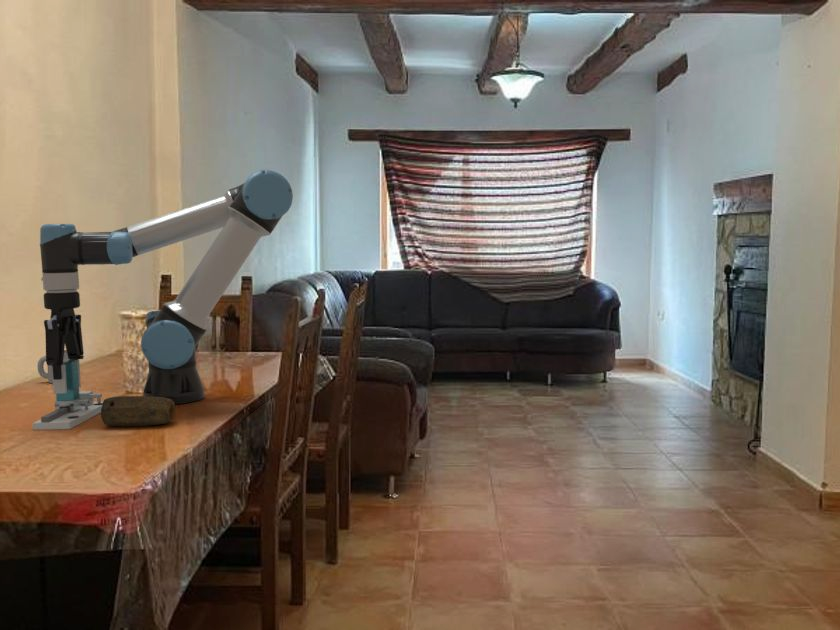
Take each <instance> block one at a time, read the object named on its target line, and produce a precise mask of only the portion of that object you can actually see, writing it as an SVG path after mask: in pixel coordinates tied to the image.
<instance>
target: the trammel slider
mask: <svg viewBox="0 0 840 630" xmlns="http://www.w3.org/2000/svg"><path fill="white" fill-rule="evenodd" d="M63 365H65V367H66V383H67V393H56V394H55V397H56V398H55V399H56V400H55V401H54V409H55V410H57V409H60V408H62V407H64V406H70V411H76V410H78V409H80V408H82V404H85V410H88V403H89V400H81V398H80V397H79V391H80V387H79V381H78V364H77V360H63ZM55 410H54V411H55Z"/></svg>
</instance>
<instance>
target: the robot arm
mask: <svg viewBox="0 0 840 630" xmlns="http://www.w3.org/2000/svg"><path fill="white" fill-rule="evenodd" d="M293 194H294V193H293V189H292V187H291V184H290V183H289V181H288V180H287V178H286V177H285V176H284V175H282V174H281V173H280V172H277V171H274V170H272V169H271V170H270V169H261V170H257V171H255V172H253V173H251V174H250V175H249V176H248V177H247V178H246V180H245V181H244V182H243V183H242V184H240V185H237V186H236V187H232V188H230V189H226V191H225V193H224V195H221V196H219V197H214V198H211V199H208V200H205V201H203V202H199V203H196V204H193V205H190V206H187V207H185V208H181V209H179V210H175V211H173V212H169V213H166V214H163V215H160V216H156V217H153V218H151V219H147V220H144V221H142V222H138V223H135V224H132V225H129V226H126V227H123V228H119V229H117V230H113V231H95V232H94V231H93V232H92V231H91V232H89V231H88V232H83V231H82V232H81V231H78V230H77V229H76V226H75V225H74V224H73V223H46V224H42V225H41V226H40V229H39V230H40V231H39V235H40V236H39V237H40V238H39V239H40V241H39V247H40V248H39V249H40V259H41V268H42V269H41V270H42V271H41V273H42V276H41V279H40V280H41V281H42V287H43V290H44V291H46V292H44V294H43V305H44V306H43V307H44V309H46V310H50V311H51V312H50V319H45V320H43V325H44V326H43V327H44V331H45V356H46V361H45V363H46V366H47V365H52V374H53V385H52V386H53V394H55V395H56V393H67V383H66V367H65V365H63V359H64V350H67V355H68V359H70V360H77V364H78V381H79V388H81V387H82V385H81V384H82V383H81V369H80V360H83V359H84V358H85V356H84V343H83V332H82V324H81V323H82V315H81V314H76V313H75V309H78V308H80V306H81V297H80V292H79V291H77V290H79V289H80V279H79V277H80V276H79V269H78V268H79V265H80V266H87V265H91V266H92V265H102V266H103V265H115V266H118V265H119V266H120V265H125V264H126V265H127V264H130V263H132V261H133V258H135V257H137V256H140V255H143V254H146V253H149V252H152V251H155V250H158V249H162V248H165V247H167V246H170V245H173V244H177V243H179V242H183V241H185V240H186V241H187V240H189V239H192V238H195V237H197V236H201V235H204V234H206V233H209V232H212V231H216V230H219V229H221V231H220V232H219V233H218V235H217V236H216V238H215V239H214V240H213V242H212V243H211V245H210V247H209V249H208V250H207V251H206V252H205V254H204V256H203V257H202V259H201V260H200V262H199V263H198V265H197V266H196V268H195V269H194V271H193V273H191V275H190V277H189V278H188V280H187V281H186V283H185V284H184V286H183V287H182V289H181V290H180V292H179V293H178V295H177V296H176V297H175V298H174V300H172V301H167V302H165V303H163V305H162V307H161V309H160V310H151V311H148V312H147V313H146V316H145V317H146V320H145V325H146V329H145V330H144V332H143V333H142V337H141V341H140V346H141V350H142V354H143V356H144V357H145V359H146V360H147V361H148V373H147V378H146V380H145V384H144V387H143V391H142V396H152V397H164V398H168V399H171V400H173V401H174V404H175V405H181V404H188V403H193V402H197V401H200V400H202V399H204V398H205V396H206V395H205V387H204V385H203V383H202V380H201V377H200V375H199V374H200V373H199V372H198V369H197V359H196V358H197V357H196V356H197V355H196V347H197V346H198V344H199V342H200V341H201V340H202V338H203V336H204V335H205V333H206V332H207V331H208V325H207V319H208V317H209V316H210V314H211V313H212V311H213V310H214V309H215V307H216V305H217V304H218V302H219V301H220V299H221V297H223V295H224V293H225V292H226V290H227V289H228V287H229V286H230V285H231V283H232V281H233V280H234V278H235V277H236V275H237V274H238V273H239V271H240V269H241V268H242V266H243V264H244V263H245V262H246V261H247V258H248V257H249V255H250V254H251V252H252V251H253V249H255V246H256V245H257V244H258V242H259V240H260V239H261V238H262V237H267V236H270V235H271V234H272V232H273V231H274V229H276V226H277V225H278V224H279V222H280V220H281V219H282V218H283V216H284V215H285V214H287V213H288V211H289V210H290V208H291V206H292V204H293V199H294V198H293Z"/></svg>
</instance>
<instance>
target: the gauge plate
mask: <svg viewBox="0 0 840 630" xmlns="http://www.w3.org/2000/svg"><path fill="white" fill-rule="evenodd" d="M79 397H80V398H81V400H89V403H88V410H85V404H82V408H80V409H78V410H76V411H70V406H64V407H62V408H60V409H57V410H53V411H51V412H49V413H47V414H44V415H42V416H40V419H38V420H37V421H35V422H32V423H31V424H32V431H43V430H44V431H46V430H47V431H48V430H49V431H50V430H51V431H52V430H53V431H54V430H55V431H56V430H57V431H58V430H71V429H73V428H75V427H76V426H78V425H80V424H83V423H84V422H86V421H88V420H89V419H92V418H93V417H95V416H97V415H99V414H101V408H102V404H103V401H101V398H102V397H103V395H102V393H94V391H93V390H84V391H83V390H82V391H80V390H79ZM94 399H97V401H94Z"/></svg>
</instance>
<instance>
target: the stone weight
mask: <svg viewBox="0 0 840 630" xmlns="http://www.w3.org/2000/svg"><path fill="white" fill-rule="evenodd" d="M102 402H103V404H102V408H101V413H100V416H101V420H102V422H103V423H104V425H106V426H112V427H147V426H149V427H150V426H156V425H165V424H168V423H170V422H172V421H173V420H174V419H175V416H176V404H174V401H173V400H171V399H168V398H164V397H152V396H143V395H135V396H133V395H125V396H123V395H120V396H111V397H107V398H104V400H103V401H102Z"/></svg>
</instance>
